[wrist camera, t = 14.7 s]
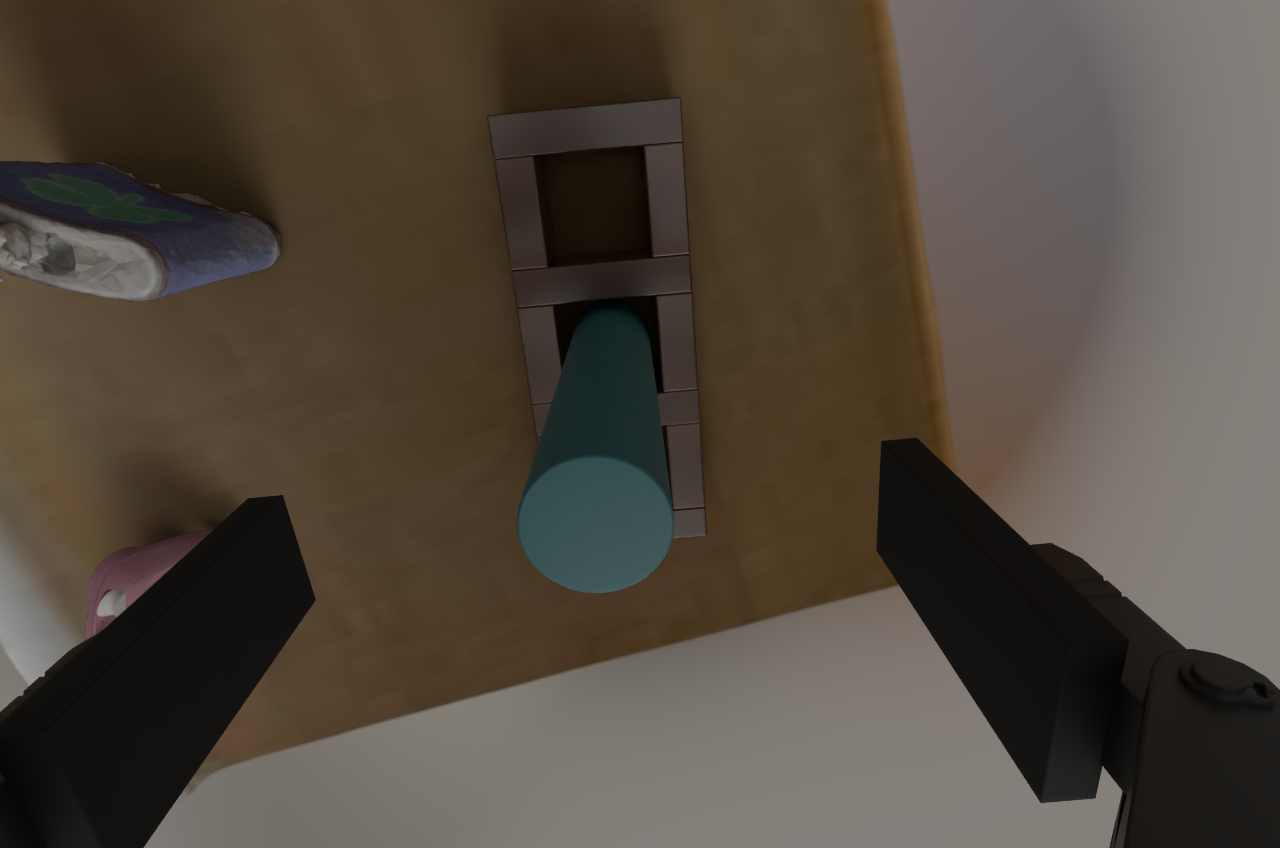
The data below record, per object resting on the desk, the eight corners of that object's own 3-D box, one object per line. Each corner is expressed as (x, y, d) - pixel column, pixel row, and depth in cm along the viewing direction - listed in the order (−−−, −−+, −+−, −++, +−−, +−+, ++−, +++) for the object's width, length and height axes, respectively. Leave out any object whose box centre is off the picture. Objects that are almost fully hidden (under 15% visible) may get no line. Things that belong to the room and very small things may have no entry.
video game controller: (198, 505, 38) (50, 564, 32) (254, 528, 36) (109, 594, 30) (223, 650, 41) (94, 727, 35) (275, 677, 39) (149, 763, 34)
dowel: (570, 301, 33) (504, 462, 15) (645, 294, 33) (668, 448, 15) (579, 372, 34) (528, 600, 16) (651, 366, 34) (679, 587, 16)
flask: (289, 226, 31) (127, 255, 21) (277, 286, 32) (118, 342, 22) (77, 149, 30) (-202, 142, 20) (72, 214, 31) (-197, 239, 21)
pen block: (502, 121, 30) (486, 115, 26) (674, 104, 30) (680, 96, 26) (560, 515, 37) (553, 549, 33) (700, 503, 37) (707, 536, 33)
